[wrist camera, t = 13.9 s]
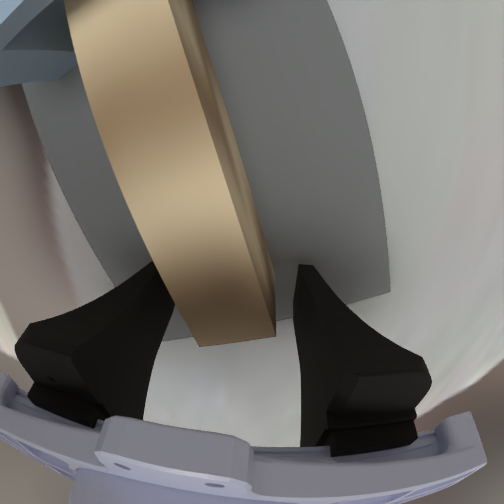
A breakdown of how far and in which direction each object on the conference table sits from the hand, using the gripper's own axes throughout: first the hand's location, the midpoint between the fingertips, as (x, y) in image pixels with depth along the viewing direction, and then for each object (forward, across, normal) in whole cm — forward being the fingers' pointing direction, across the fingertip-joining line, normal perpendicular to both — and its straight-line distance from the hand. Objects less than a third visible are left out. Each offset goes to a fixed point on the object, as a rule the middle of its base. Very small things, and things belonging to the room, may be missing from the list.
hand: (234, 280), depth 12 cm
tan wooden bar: (+1, +2, -7) cm, 8 cm away
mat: (+2, +6, -15) cm, 16 cm away
